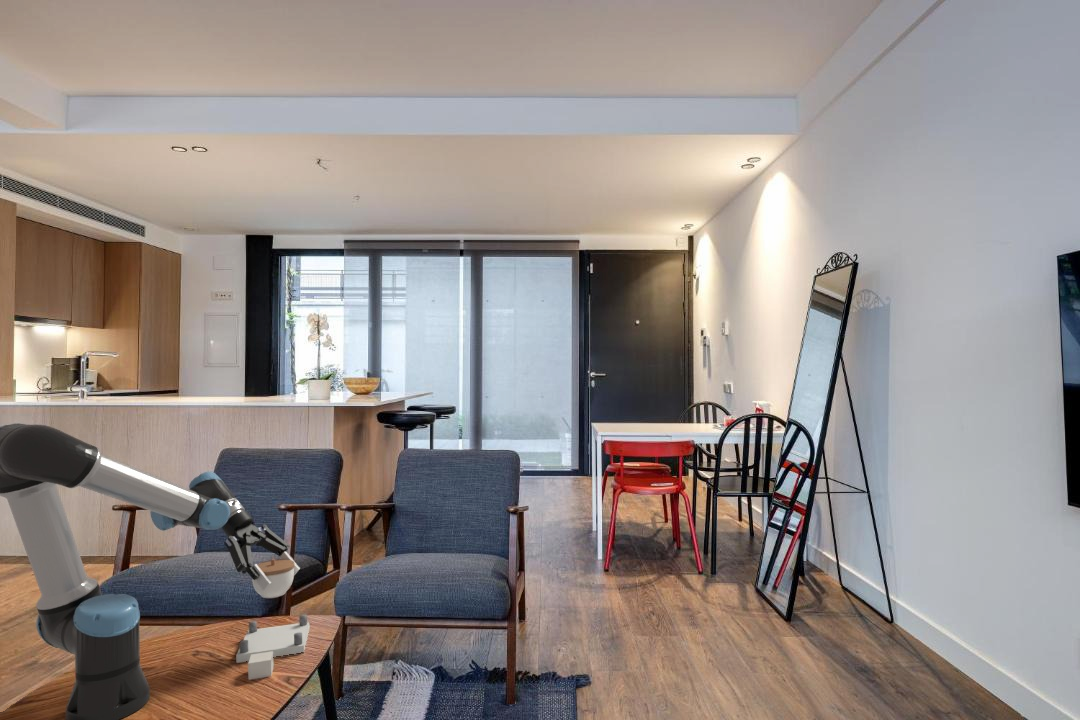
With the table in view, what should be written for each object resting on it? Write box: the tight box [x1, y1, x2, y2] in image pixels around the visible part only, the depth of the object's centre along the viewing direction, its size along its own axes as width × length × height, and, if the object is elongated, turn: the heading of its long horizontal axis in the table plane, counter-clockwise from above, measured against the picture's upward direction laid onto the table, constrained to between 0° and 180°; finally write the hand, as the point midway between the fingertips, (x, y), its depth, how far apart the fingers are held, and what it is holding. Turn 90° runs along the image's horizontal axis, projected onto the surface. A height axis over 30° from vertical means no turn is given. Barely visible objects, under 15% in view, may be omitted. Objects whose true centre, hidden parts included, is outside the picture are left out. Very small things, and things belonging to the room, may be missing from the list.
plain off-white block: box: [247, 651, 275, 681], centre depth 149 cm, size 5×5×4 cm
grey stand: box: [235, 613, 311, 664], centre depth 164 cm, size 16×16×4 cm
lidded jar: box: [251, 558, 295, 599], centre depth 165 cm, size 11×11×9 cm
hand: (282, 579), depth 164 cm, fingers closed on lidded jar, 11 cm apart
